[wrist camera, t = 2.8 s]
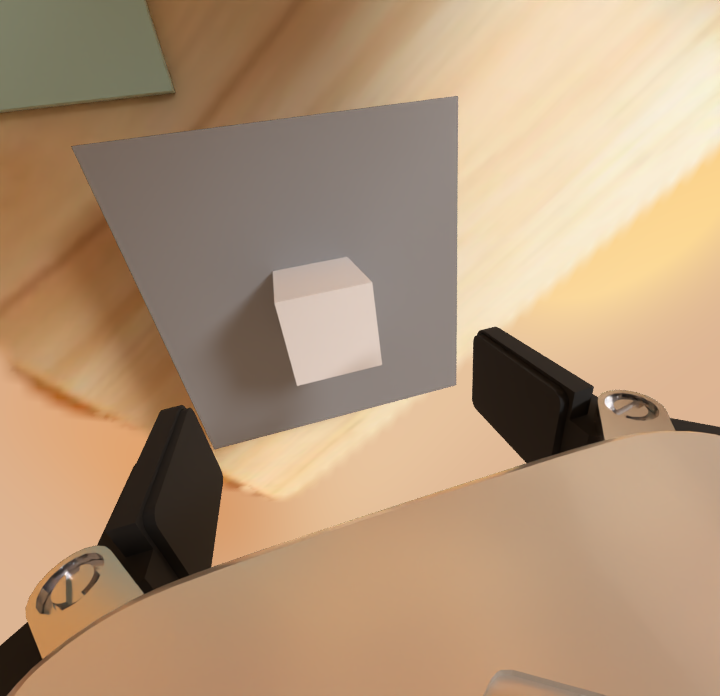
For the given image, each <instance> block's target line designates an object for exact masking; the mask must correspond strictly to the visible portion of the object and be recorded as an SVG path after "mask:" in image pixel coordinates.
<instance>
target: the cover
mask: <svg viewBox="0 0 720 696" xmlns="http://www.w3.org/2000/svg"><path fill="white" fill-rule="evenodd" d="M71 147H72V149H73V151H74V153H75V156H76V158H77V160H78V162H79V164H80V166H81V168H82V170H83V172H84V175H85V177H86V179H87V181H88V183H89V185H90V187H91V189H92V192H93V194H94V196H95V198H96V200H97V202H98V204H99V206H100V208H101V211H102V213H103V215H104V217H105V219H106V221H107V223H108V225H109V227H110V230H111V232H112V234H113V236H114V238H115V240H116V242H117V244H118V246H119V249H120V251H121V253H122V255H123V257H124V259H125V261H126V263H127V266H128V268H129V270H130V272H131V274H132V276H133V278H134V280H135V282H136V285H137V287H138V289H139V291H140V293H141V295H142V297H143V299H144V301H145V304H146V306H147V308H148V310H149V312H150V314H151V316H152V318H153V320H154V323H155V325H156V327H157V329H158V331H159V333H160V335H161V337H162V339H163V342H164V344H165V346H166V348H167V350H168V352H169V354H170V356H171V359H172V361H173V363H174V365H175V367H176V369H177V371H178V373H179V375H180V378H181V380H182V382H183V384H184V386H185V388H186V390H187V392H188V394H189V397H190V399H191V401H192V403H193V405H194V407H195V409H196V411H197V413H198V416H199V418H200V420H201V422H202V424H203V426H204V428H205V430H206V433H207V435H208V437H209V439H210V441H211V443H212V445H213V447H214V449H218V448H222V447H225V446H229V445H233V444H237V443H240V442H244V441H248V440H252V439H255V438H259V437H263V436H267V435H270V434H274V433H278V432H282V431H285V430H289V429H293V428H297V427H300V426H304V425H308V424H312V423H315V422H319V421H323V420H327V419H330V418H334V417H338V416H342V415H346V414H349V413H353V412H357V411H361V410H364V409H368V408H372V407H376V406H379V405H383V404H387V403H391V402H394V401H398V400H402V399H406V398H409V397H413V396H417V395H421V394H424V393H428V392H432V391H436V390H439V389H443V388H447V387H451V386H454V385H456V332H457V166H458V96H454V97H446V98H438V99H431V100H423V101H415V102H407V103H400V104H392V105H384V106H377V107H369V108H361V109H354V110H346V111H338V112H331V113H323V114H315V115H307V116H300V117H292V118H284V119H277V120H269V121H261V122H254V123H246V124H238V125H230V126H223V127H215V128H207V129H200V130H192V131H184V132H177V133H169V134H161V135H154V136H146V137H138V138H130V139H123V140H115V141H107V142H100V143H92V144H84V145H77V146H71Z"/></svg>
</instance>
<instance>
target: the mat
mask: <svg viewBox="0 0 720 696" xmlns="http://www.w3.org/2000/svg"><path fill="white" fill-rule="evenodd" d="M169 93H175V90H174V87H173V84H172V81H171V78H170V75H169V72H168V68H167V65H166V62H165V59H164V56H163V53H162V50H161V47H160V44H159V41H158V37H157V34H156V31H155V28H154V25H153V22H152V19H151V16H150V13H149V9H148V6H147V3H146V0H0V113H1V112H10V111H19V110H28V109H36V108H45V107H54V106H63V105H72V104H80V103H89V102H98V101H107V100H116V99H125V98H133V97H142V96H151V95H160V94H169Z"/></svg>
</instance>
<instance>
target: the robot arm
mask: <svg viewBox="0 0 720 696" xmlns="http://www.w3.org/2000/svg"><path fill="white" fill-rule="evenodd" d="M472 387H473V388H472V401H473V404H474V407H475V408H476V409H477V410H478V412H479V413H480V414H481V415H482V416H483V417H484V418H485V419H486V420H487V421H488V422H489V423H490V425H492V427H493V428H494V429H495V430H496V431H497V432H498V433H499V434H500V435H501V436H502V437H503V438H504V439H505V441H506V442H507V443H508V444H509V445H510V446H511V447H512V448H513V449H514V450H515V451H516V452H517V453H518V454H519V456H520V457H521V458H522V459H523V460H525V462H526V464H523V465H520V466H517V467H514V468H511V469H507V470H504V471H501V472H498V473H495V474H492V475H489V476H486V477H482V478H479V479H476V480H473V481H470V482H467V483H464V484H461V485H457V486H454V487H451V488H449V489H445V490H442V491H439V492H436V493H433V494H430V495H427V496H424V497H421V498H417V499H415V500H411V501H408V502H405V503H402V504H399V505H396V506H393V507H390V508H387V509H384V510H381V511H378V512H375V513H372V514H368V515H365V516H362V517H360V518H356V519H354V520H350V521H347V522H344V523H341V524H338V525H336V526H332V527H330V528H326V529H323V530H320V531H317V532H314V533H311V534H308V535H305V536H302V537H300V538H296V539H293V540H290V541H287V542H284V543H281V544H278V545H275V546H272V547H269V548H266V549H263V550H260V551H257V552H254V553H251V554H249V555H246V556H243V557H240V558H237V559H234V560H231V561H229V562H226V563H223V564H220V565H217V566H214V567H211V564H212V557H213V550H214V542H215V536H216V529H217V521H218V515H219V507H220V500H221V493H222V486H223V475H222V471H221V469H220V467H219V465H218V463H217V460H216V458H215V456H214V454H213V452H212V450H211V448H210V445H209V443H208V441H207V439H206V437H205V435H204V433H203V430H202V428H201V426H200V424H199V422H198V420H197V418H196V415H195V413H194V411H193V410H192V409H191V408H188V409H186V408H185V407H184V406H183V405H180V406H176V407H172V408H168V409H164V410H161V412H160V413H159V415H158V417H157V420H156V422H155V424H154V426H153V428H152V431H151V433H150V435H149V437H148V439H147V441H146V444H145V446H144V448H143V450H142V452H141V455H140V457H139V459H138V461H137V463H136V464H135V466H134V467H133V469H132V471H131V473H130V476H129V478H128V480H127V482H126V485H125V487H124V489H123V491H122V493H121V495H120V497H119V499H118V502H117V504H116V506H115V508H114V510H113V512H112V514H111V517H110V519H109V521H108V523H107V525H106V528H105V530H104V532H103V534H102V536H101V538H100V540H99V543H98V545H97V546H92V547H88V548H85V549H82V550H80V551H78V552H76V553H74V554H72V555H71V556H69V557H67V558H66V559H64V560H63V561H62V562H60V563H59V564H58V565H57V566H55V567H54V568H53V569H52V570H51V571H49V572H48V573H47V574H46V576H45V577H44V578H43V579H42V580H41V581H40V582H39V583H38V585H37V586H36V588H35V589H34V591H33V592H32V594H31V595H30V597H29V600H28V603H27V606H26V619H27V621H28V622H27V623H26V624H25V625H24V626H23V627H21V628H20V629H19V630H18V631H17V632H16V633H15V634H13V635H12V636H11V637H10V638H9V639H7V640H6V641H5V642H4V643H3V644H2V645H1V646H0V696H720V427H716V426H711V425H705V424H700V423H695V422H689V421H684V420H678V419H672V418H670V417H669V415H668V413H667V411H666V409H665V408H664V406H663V405H662V404H660V403H659V402H658V401H656V400H654V399H653V398H651V397H649V396H646V395H643V394H640V393H637V392H632V391H627V390H612V391H606V392H604V393H602V394H601V395H600V396H599V397H597V396H595V395H593V394H592V393H593V388H594V387H593V386H592V385H590V384H589V383H587V382H585V381H584V380H582V379H580V378H579V377H577V376H576V375H574V374H572V373H571V372H569V371H567V370H566V369H564V368H563V367H561V366H559V365H558V364H556V363H555V362H553V361H551V360H550V359H548V358H547V357H545V356H543V355H541V354H540V353H538V352H537V351H535V350H534V349H532V348H530V347H529V346H527V345H525V344H524V343H522V342H521V341H519V340H517V339H516V338H514V337H512V336H511V335H509V334H508V333H506V332H504V331H503V330H501V329H500V328H498V327H492V328H488V329H484V330H480V331H479V332H478V334H477V336H475V337H474V341H473V386H472Z"/></svg>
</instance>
